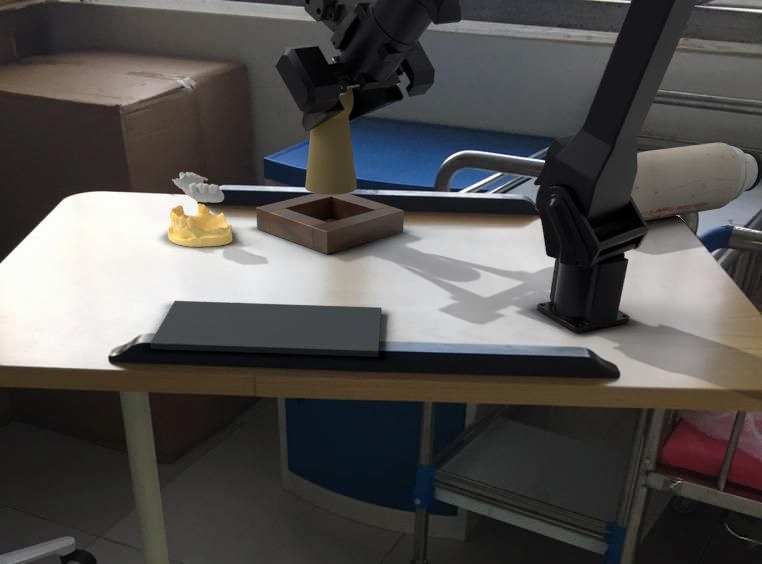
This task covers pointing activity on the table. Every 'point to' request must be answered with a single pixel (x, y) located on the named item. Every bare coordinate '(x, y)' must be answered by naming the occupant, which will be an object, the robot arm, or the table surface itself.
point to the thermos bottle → (693, 179)
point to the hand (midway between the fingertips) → (322, 124)
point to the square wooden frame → (353, 228)
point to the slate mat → (270, 328)
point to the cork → (332, 154)
